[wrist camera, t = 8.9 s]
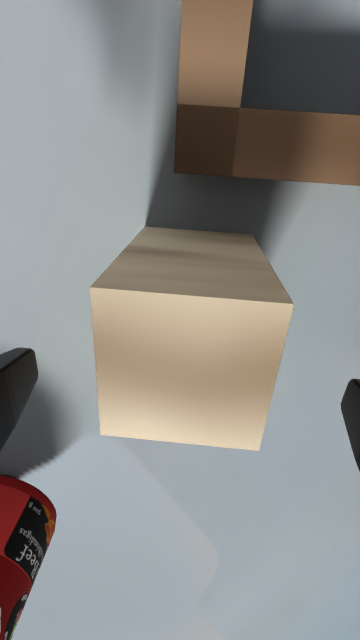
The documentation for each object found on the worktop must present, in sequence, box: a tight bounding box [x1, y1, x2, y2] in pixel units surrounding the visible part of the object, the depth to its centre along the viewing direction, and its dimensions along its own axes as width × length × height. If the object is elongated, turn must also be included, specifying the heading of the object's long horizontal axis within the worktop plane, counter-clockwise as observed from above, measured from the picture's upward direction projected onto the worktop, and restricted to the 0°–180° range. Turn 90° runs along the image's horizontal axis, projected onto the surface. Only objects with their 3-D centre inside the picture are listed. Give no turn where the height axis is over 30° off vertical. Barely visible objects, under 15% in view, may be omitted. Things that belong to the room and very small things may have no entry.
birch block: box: [90, 226, 294, 451], centre depth 13 cm, size 5×5×8 cm
